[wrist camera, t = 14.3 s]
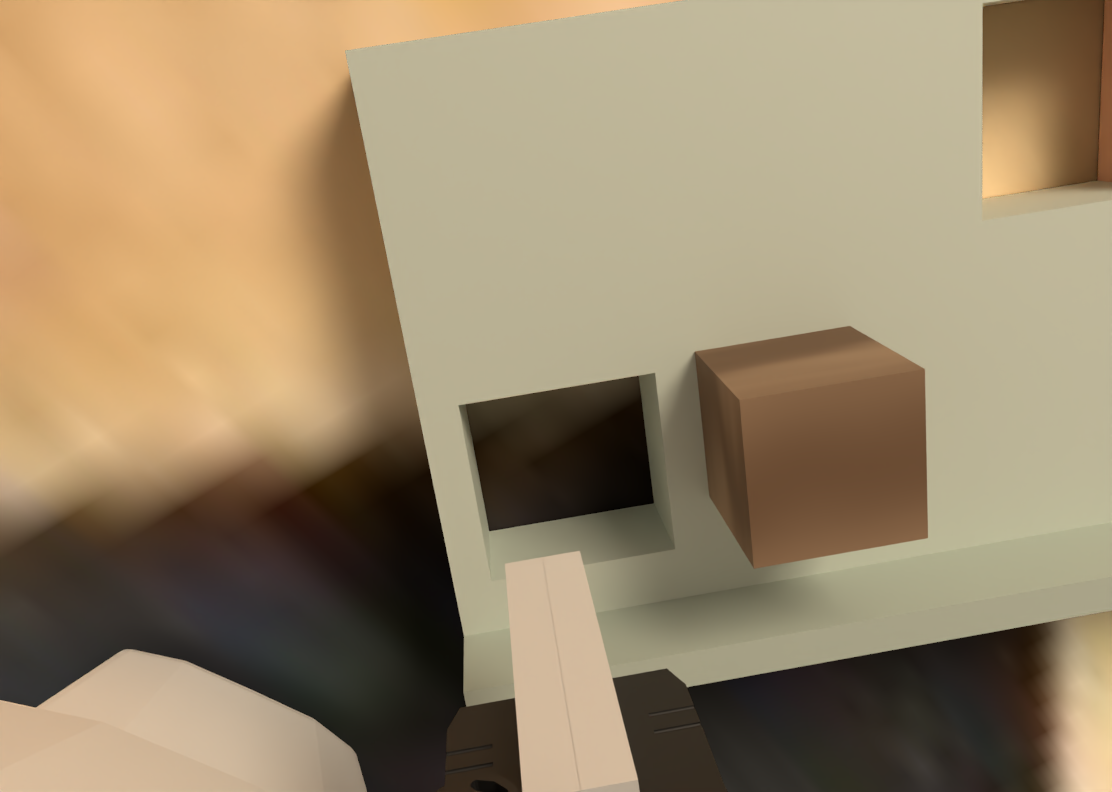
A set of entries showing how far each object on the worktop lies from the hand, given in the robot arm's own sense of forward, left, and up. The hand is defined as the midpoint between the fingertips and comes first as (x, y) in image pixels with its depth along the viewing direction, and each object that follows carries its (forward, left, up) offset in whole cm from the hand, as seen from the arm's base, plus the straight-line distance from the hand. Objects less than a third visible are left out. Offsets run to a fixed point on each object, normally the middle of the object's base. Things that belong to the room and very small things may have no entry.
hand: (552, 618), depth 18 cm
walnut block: (-1, +7, -6) cm, 9 cm away
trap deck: (-3, +11, -9) cm, 15 cm away
